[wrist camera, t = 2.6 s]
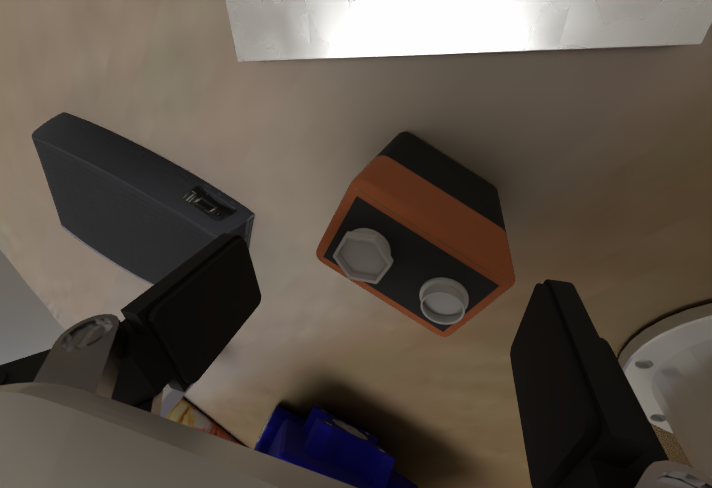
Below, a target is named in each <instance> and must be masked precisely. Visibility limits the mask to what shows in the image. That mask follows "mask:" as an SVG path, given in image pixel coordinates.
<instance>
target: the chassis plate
mask: <svg viewBox="0 0 712 488" xmlns="http://www.w3.org/2000/svg"><path fill="white" fill-rule="evenodd" d="M226 5H227V10H228V14H229V19H230V24H231V29H232V34H233V39H234V44H235V49H236V54H237V59H238V61H284V60H311V59H338V58H365V57H392V56H419V55H446V54H473V53H500V52H527V51H554V50H581V49H608V48H635V47H662V46H680V45H693V44H701V43H702V41H703V39H704V37H705V35H706V33H707V31H708V29H709V27H710V25H711V23H712V0H226Z"/></svg>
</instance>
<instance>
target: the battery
mask: <svg viewBox="0 0 712 488" xmlns="http://www.w3.org/2000/svg"><path fill="white" fill-rule="evenodd" d="M316 254H317V258H318V259H319V260H320V261H321V262H323V263H324V264H326V265H327V266H329V267H330V268H332V269H333V270H335V271H337V272H338V273H340V274H341V275H343V276H345V277H346V278H348V279H349V280H351V281H353V282H354V283H356V284H357V285H359V286H361V287H362V288H364V289H365V290H367V291H368V292H370V293H372V294H373V295H375V296H376V297H378V298H380V299H381V300H383V301H384V302H386V303H388V304H389V305H391V306H392V307H394V308H396V309H397V310H399V311H400V312H402V313H403V314H405V315H407V316H408V317H410V318H411V319H413V320H415V321H416V322H418V323H419V324H421V325H423V326H424V327H426V328H427V329H429V330H431V331H432V332H434V333H436V334H437V335H439V336H442V337H447V336H449V335H451V334H452V333H453V332H455V331H456V330H457V329H459V328H460V327H461V326H462V325H464V324H465V323H466V322H467V321H469V320H470V319H471V318H472V317H474V316H475V315H476V314H477V313H479V312H480V311H481V310H483V309H484V308H485V307H486V306H488V305H489V304H490V303H491V302H493V301H494V300H495V299H496V298H498V297H499V296H500V295H501V294H503V293H504V292H505V291H506V290H508V289H509V288H510V287H511V286H512V285H513V284H514V282H515V275H514V270H513V265H512V260H511V255H510V250H509V245H508V240H507V235H506V230H505V225H504V221H503V216H502V211H501V206H500V201H499V196H498V192H497V189H496V188H495V187H494V186H493V185H491V184H490V183H488V182H487V181H485V180H484V179H482V178H480V177H479V176H477V175H476V174H474V173H473V172H471V171H469V170H468V169H466V168H465V167H463V166H461V165H460V164H458V163H457V162H455V161H453V160H452V159H450V158H449V157H447V156H445V155H444V154H442V153H441V152H439V151H438V150H436V149H434V148H433V147H431V146H430V145H428V144H426V143H425V142H423V141H422V140H420V139H418V138H417V137H415V136H414V135H412V134H410V133H408V132H401V133H400V134H398V135H397V136H396V137H395V138H394V139H393V140H392V141H391V142H390V143H389V144H388V145H387V146H386V147H385V148H384V149H383V150H382V151H381V152H380V153H379V154H378V155H377V156H376V157H375V158H374V159H373V160H372V161H371V162H370V163H369V164H368V165H367V167H366V168H365V169H364V170H363V171H362V172H361V173H360V174H359V175H358V176H357V177H356V178H355V179H354V180H353V181H352V182H351V184H350V186H349V188H348V189H347V191H346V193H345V195H344V197H343V199H342V201H341V203H340V205H339V207H338V209H337V211H336V213H335V215H334V216H333V218H332V220H331V222H330V224H329V226H328V228H327V230H326V232H325V234H324V236H323V238H322V240H321V242H320V244H319V246H318V248H317V251H316Z"/></svg>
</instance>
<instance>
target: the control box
mask: <svg viewBox="0 0 712 488" xmlns="http://www.w3.org/2000/svg"><path fill="white" fill-rule="evenodd" d="M377 441H378V438H376V437H375V436H374V435H373V434H371V433H369V432H367V431H365V430H362V429H358V428H355V427H353V426H351V425H350V424H348V423H346V422H344V421H342V420H340V419H337V418H336V417H334V416H333V415H331V414H330V413H328V412H327V411H325V410H324V409H322V408H320V407H317V406H313V408H312V410H311V412H310V414H309V416H308V418H307V420H305V419H303V418H301V417H299V416H297V415H295V414H293V413H291V412H289V411H287V410H285V409H283V408H280V407H278V406H276V408H275V410H274V411H273V413H271V415H270V417H269V418H268V420H267V422H266V424H265V426H264V428H263V430H262V432H261V434H260V436H259V438H258V441H257V443H256V446H255V448H254V450H256V451H258V452H261V453H264V454H267V455H269V456H272V457H275V458H278V459H280V460H283V461H286V462H289V463H291V464H294V465H297V466H300V467H302V468H305V469H308V470H311V471H313V472H316V473H319V474H322V475H324V476H327V477H330V478H332V479H335V480H338V481H341V482H343V483H346V484H349V485H351V486H354V487H357V488H418V487H417V486H416V485H415V484H414V483H413V482H411V481H410V480H408V479H407V478H406V477H404V476H403V475H401V474H399V473H398V472H396V471H394V470H392V468H393V465H394V462H395V458H394V457H393V456H392V455H391V454H389V453H388V452H386V451H385V450H383V449H382V448H380V447H379V446H377V445H376V444H377Z"/></svg>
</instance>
